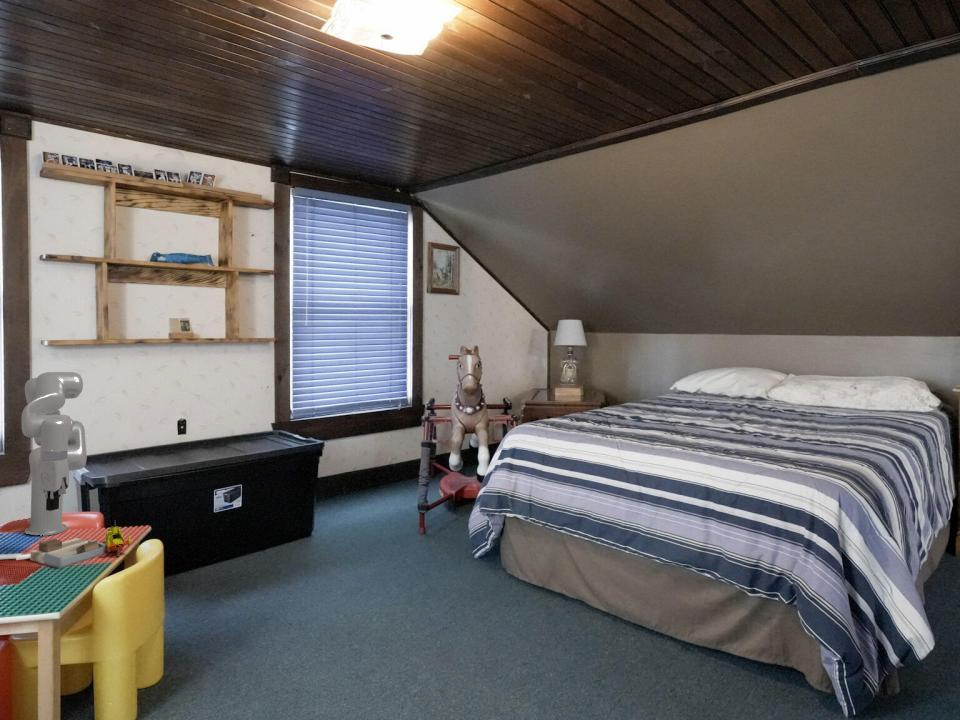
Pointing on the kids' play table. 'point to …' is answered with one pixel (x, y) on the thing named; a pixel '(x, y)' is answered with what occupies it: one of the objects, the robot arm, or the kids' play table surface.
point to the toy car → (115, 539)
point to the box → (72, 557)
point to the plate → (59, 550)
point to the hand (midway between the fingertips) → (52, 509)
